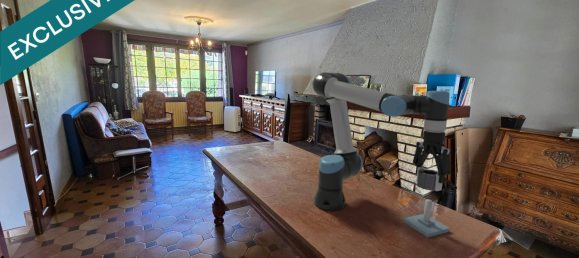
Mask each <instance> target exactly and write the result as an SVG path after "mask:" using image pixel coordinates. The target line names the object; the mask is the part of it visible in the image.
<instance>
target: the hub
mask: <svg viewBox="0 0 579 258" xmlns="http://www.w3.org/2000/svg"><path fill="white" fill-rule="evenodd" d="M436 174H439V173H438V170H435V169H429V168H428V169H427V168H424V169H420V170H418V178H417V177H416V180H417V182H416V186H417V187H418V188H419V189H422V190H427V191H431V192H436V191H435V183H436Z"/></svg>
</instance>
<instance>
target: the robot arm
mask: <svg viewBox="0 0 579 258" xmlns="http://www.w3.org/2000/svg"><path fill="white" fill-rule="evenodd" d="M312 89H313V91H314V92H315V94H316V95H317V96H320V97H324V98H325V100H326V103H327V104H329V108H330V115H331V121H332V127H333V128H332V129H333V134H334V135H333V136H334V141H335V148H336V149H335V151H334V152H333V154H331V155H330V154H327V155H324V156H322V157H321V158H320V159H319V165H318V183H317V184H318V187H317V190H316V192H315V196H314V199H313V200H314V202H313V204H314V205H315V206H316V207H318V208H319V209H321V210H324V211H330V212H336V211H340V210H342V209H344V208H345V206H346V197H345V194H344V191H343V188H344V187H343V186H344V184H343V183H344V180H347V179H349V178H351V177H355V176H357V175H358V174H360V172H361V171H362V169H363V166H364V162H363V158H362V156H361V155H360V154H359V153H358V150H357V149H356V148H355V147H354V145H353V142H354V141H353V137H352V136H353V135H352V130H351V124H350V118H349V117H350V116H349V109H348V104H347V102H349V103H352V104H355V105H359V106H362V107H365V108H368V109H372V110H375V111H378V112H380V113H383V114H384V115H385V116H388V117H392V118H393V117H395V118H396V117H397V118H398V117H400V116H403V115H410V114H411V115H422V116H423V115H424V122H423V132H422V140H423V141H416V143H415V144H416V145H415V146H416V147H415V152H414V156H413V159H412V164H413V165H415V167H416V168H415V169H416V170H415V174H416V180H415V183H417V178H418V170H420V169H425V167H424V166H425V165H424V164H425V162H426V160H427V159H428V157H429V155H431V156H432V157H433V158H434V161H435V165H436V169H437V170H436V171H438V173H439V174H436V183H435V191H434V192H439V191H442V187H443V184H445V180H446V179H445V178H446V176H450V175H451V173H452V171H451V152H452V149H451V148H446V147H445V145H444V142H445V141H446V134H447V133H446V131H447V123H448V122H447V121H448V115H449V107H450V92H449V91H446V90H429V91H427V93H426V95H417V94H416V95H415V94H412V95H411V94H398V95H397V94H392V93H389V92H384V91H380V90H376V89H372V88H368V87H365V86H360V85H356V84H352V82H351V79H350V78H349V76H348V75H346V74H344V73H340V72H320V73H318V74H317V75H316V76H314V78H313V81H312Z"/></svg>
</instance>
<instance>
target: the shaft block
mask: <svg viewBox="0 0 579 258" xmlns="http://www.w3.org/2000/svg"><path fill="white" fill-rule="evenodd" d="M432 207H433V201H432V200H431V199H425V202H424V208H423V209H424V211H423V213H421V214H417V215H412V216H408V217H403V222H404V223H405V224H406V225H408V226H409V227H411V228H412V229H414V230H415V231H417V232H419V233H420V234H421V235H423V236H425V237H426V238H430V237H434V236H438V235H442V234H445V233H449V232H450V229H451V228H450V227H448V226H447V225H445V224H443V223H441V222H440V221H438V220H436V219H435V218H433V217H431V214H432Z"/></svg>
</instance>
